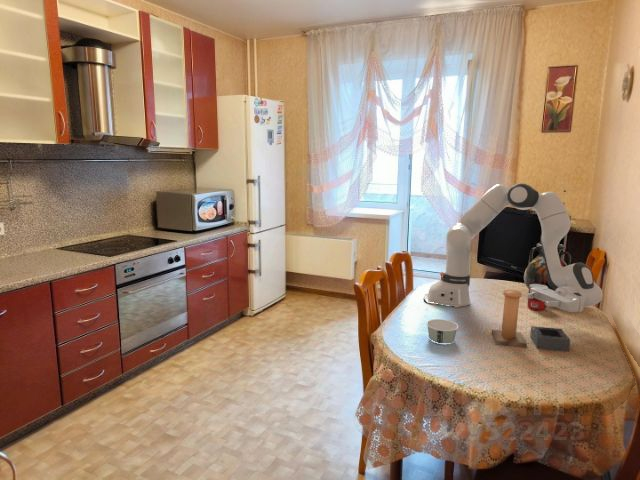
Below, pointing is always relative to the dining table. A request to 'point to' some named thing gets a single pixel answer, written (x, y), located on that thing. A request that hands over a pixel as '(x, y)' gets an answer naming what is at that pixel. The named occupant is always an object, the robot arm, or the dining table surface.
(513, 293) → the tan peg
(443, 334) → the food container
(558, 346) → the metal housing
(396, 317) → the dining table surface
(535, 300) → the canned food
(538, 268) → the amphora vase
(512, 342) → the walnut board
